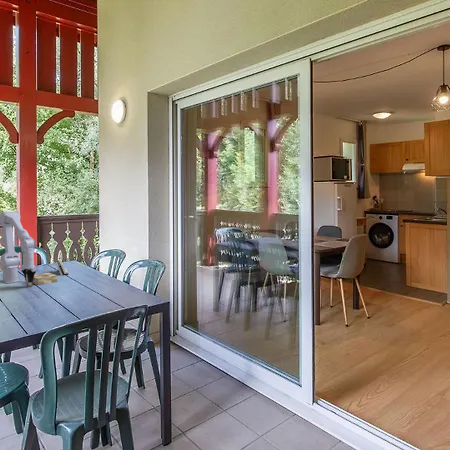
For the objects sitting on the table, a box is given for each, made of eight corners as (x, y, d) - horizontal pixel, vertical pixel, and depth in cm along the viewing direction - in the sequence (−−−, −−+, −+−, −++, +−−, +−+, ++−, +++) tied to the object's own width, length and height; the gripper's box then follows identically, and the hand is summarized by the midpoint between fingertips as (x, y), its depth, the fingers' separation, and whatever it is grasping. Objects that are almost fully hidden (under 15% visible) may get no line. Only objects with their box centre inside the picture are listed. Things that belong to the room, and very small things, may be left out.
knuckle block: (29, 281, 235) (29, 275, 235) (48, 278, 244) (48, 272, 244) (37, 285, 228) (37, 278, 227) (57, 281, 237) (57, 275, 236)
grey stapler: (68, 274, 256) (63, 261, 254) (61, 277, 255) (56, 264, 252) (66, 270, 271) (61, 257, 269) (60, 272, 269) (54, 260, 267)
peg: (25, 286, 224) (25, 270, 223) (30, 285, 226) (30, 269, 225) (27, 287, 222) (27, 270, 221) (33, 286, 224) (32, 270, 223)
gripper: (40, 259, 221) (41, 282, 222) (30, 257, 230) (30, 278, 231) (28, 261, 215) (29, 284, 216) (17, 258, 225) (18, 280, 226)
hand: (29, 281), depth 223 cm, fingers closed on peg, 3 cm apart
